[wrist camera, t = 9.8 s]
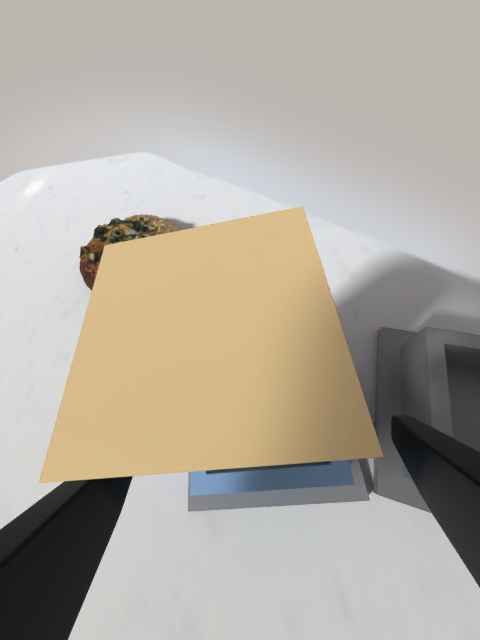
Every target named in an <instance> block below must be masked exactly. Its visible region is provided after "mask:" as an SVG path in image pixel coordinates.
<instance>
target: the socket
mask: <svg viewBox="0 0 480 640" xmlns="http://www.w3.org/2000/svg"><path fill="white" fill-rule="evenodd" d="M396 414H408V415H410V416H412V417H414V418H416V419H418V420H420V421H422V422H424V423H425V424H427V425H429V426H431V427H433V428H435V429H437V430H439V431H441V432H443V433H445V434H447V435H448V436H450V437H452V438H454V439H456V440H458V441H460V442H462V443H464V444H466V445H468V446H470V447H471V448H473V449H475V450H477V451H479V452H480V335H473V334H467V333H460V332H454V331H448V330H441V329H435V328H428V327H425V328H424V329H423V330H421V331H420V332H419V333H415V332H409V331H403V330H397V329H391V328H384V327H381V328H380V329H379V331H378V361H377V392H376V423H375V432H376V435H377V438H378V441H379V444H380V447H381V450H382V453H383V457H377V458H374V484H373V492H374V493H376V494H377V495H380V496H383V497H386V498H389V499H392V500H395V501H398V502H401V503H404V504H407V505H410V506H413V507H415V508H418V509H421V510H424V511H427V512H430V513H432V512H431V511H430V509H429V508H428V506H427V505H426V503H425V501H424V500H423V498H422V496H421V495H420V493H419V491H418V489H417V487H416V486H415V484H414V482H413V480H412V478H411V476H410V474H409V472H408V470H407V468H406V467H405V465H404V463H403V461H402V459H401V457H400V455H399V453H398V451H397V449H396V448H395V446H394V444H393V441H392V438H391V418H392V416H393V415H396Z"/></svg>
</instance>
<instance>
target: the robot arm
mask: <svg viewBox="0 0 480 640" xmlns="http://www.w3.org/2000/svg"><path fill="white" fill-rule="evenodd" d="M391 438H392V441H393V444H394V446H395V448H396V449H397V451H398V453H399V455H400V457H401V459H402V461H403V463H404V465H405V467H406V468H407V470H408V472H409V474H410V476H411V478H412V480H413V482H414V484H415V486H416V487H417V489H418V491H419V493H420V495H421V496H422V498H423V500H424V501H425V503H426V505H427V506H428V508H429V509H430V511H431V512H432V514H433V516H434V517H435V519H436V520H437V522H438V523H439V525H440V526H441V528H442V530H443V531H444V533H445V534H446V536H447V537H448V539H449V540H450V542H451V544H452V545H453V547H454V548H455V550H456V551H457V553H458V554H459V556H460V558H461V559H462V561H463V562H464V564H465V565H466V567H467V568H468V570H469V572H470V573H471V575H472V576H473V578H474V579H475V581H476V582H477V584H478V586H479V587H480V452H479V451H477V450H475V449H473V448H471V447H470V446H468V445H466V444H464V443H462V442H460V441H458V440H456V439H454V438H452V437H450V436H448V435H447V434H445V433H443V432H441V431H439V430H437V429H435V428H433V427H431V426H429V425H427V424H425V423H424V422H422V421H420V420H418V419H416V418H414V417H412V416H410V415H408V414H396V415H393V416H392V418H391ZM132 477H133V476H127V477H114V478H101V479H88V480H74V481H64V482H63V483H62V484H60V485H59V486H58V487H56V488H55V489H54V490H52V491H51V492H50V493H48V494H47V495H46V496H44V497H43V498H42V499H40V500H39V501H38V502H36V503H35V504H34V505H32V506H31V507H30V508H28V509H27V510H26V511H24V512H23V513H22V514H20V515H19V516H18V517H16V518H15V519H14V520H12V521H11V522H10V523H8V524H7V525H6V526H4V527H3V528H2V529H0V640H68V638H69V636H70V633H71V631H72V628H73V626H74V624H75V621H76V619H77V616H78V614H79V612H80V609H81V607H82V605H83V602H84V600H85V597H86V595H87V593H88V590H89V588H90V585H91V583H92V581H93V578H94V576H95V573H96V571H97V569H98V566H99V564H100V562H101V559H102V557H103V554H104V552H105V550H106V547H107V545H108V542H109V540H110V538H111V535H112V533H113V530H114V528H115V526H116V523H117V521H118V518H119V516H120V513H121V510H122V507H123V504H124V501H125V498H126V495H127V492H128V489H129V486H130V483H131V480H132Z"/></svg>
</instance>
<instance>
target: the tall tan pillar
mask: <svg viewBox="0 0 480 640" xmlns="http://www.w3.org/2000/svg"><path fill="white" fill-rule="evenodd" d="M377 457H383V453H382V450H381V447H380V444H379V441H378V438H377V435H376V432H375V429H374V425H373V422H372V419H371V416H370V413H369V410H368V407H367V404H366V401H365V398H364V394H363V391H362V388H361V385H360V382H359V379H358V376H357V373H356V370H355V367H354V363H353V360H352V357H351V354H350V351H349V348H348V345H347V342H346V339H345V336H344V332H343V329H342V326H341V323H340V320H339V317H338V314H337V311H336V308H335V304H334V301H333V298H332V295H331V292H330V289H329V286H328V283H327V280H326V277H325V273H324V270H323V267H322V264H321V261H320V258H319V255H318V252H317V249H316V246H315V242H314V239H313V236H312V233H311V230H310V227H309V224H308V221H307V218H306V214H305V211H304V208H303V207H297V208H292V209H287V210H282V211H277V212H272V213H267V214H262V215H256V216H251V217H246V218H241V219H236V220H231V221H226V222H221V223H216V224H211V225H206V226H201V227H195V228H190V229H185V230H180V231H175V232H170V233H165V234H160V235H155V236H150V237H145V238H140V239H135V240H129V241H124V242H119V243H114V244H109V245H105V246H104V250H103V253H102V257H101V261H100V264H99V268H98V271H97V275H96V279H95V282H94V286H93V289H92V293H91V297H90V300H89V304H88V307H87V311H86V315H85V318H84V322H83V326H82V329H81V333H80V336H79V340H78V344H77V347H76V351H75V354H74V358H73V362H72V365H71V369H70V372H69V376H68V380H67V383H66V387H65V390H64V394H63V398H62V401H61V405H60V408H59V412H58V416H57V419H56V423H55V427H54V430H53V434H52V437H51V441H50V445H49V448H48V452H47V455H46V459H45V463H44V466H43V470H42V473H41V477H40V481H39V483H48V482H61V481H74V480H88V479H101V478H114V477H127V476H140V475H153V474H167V473H180V472H193V471H206V470H219V469H233V468H246V467H259V466H272V465H285V464H298V463H312V462H325V461H338V460H351V459H364V458H377Z"/></svg>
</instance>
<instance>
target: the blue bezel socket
mask: <svg viewBox="0 0 480 640" xmlns="http://www.w3.org/2000/svg"><path fill="white" fill-rule="evenodd" d="M369 500H370V499H369V495H368V492H367V488H366V485H365V481H364V477H363V474H362V470H361V467H360V463H359V459H351V460H338V461H325V462H312V463H298V464H285V465H272V466H259V467H246V468H233V469H219V470H206V471H193V472H189V488H188V511H204V510H220V509H237V508H253V507H270V506H286V505H303V504H319V503H336V502H353V501H369Z"/></svg>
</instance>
